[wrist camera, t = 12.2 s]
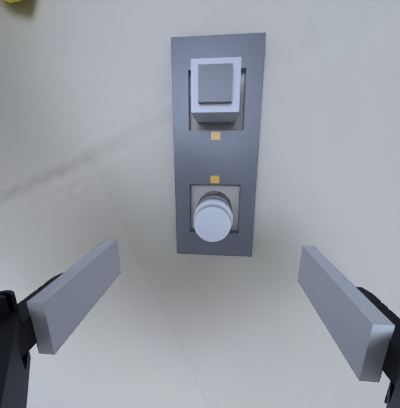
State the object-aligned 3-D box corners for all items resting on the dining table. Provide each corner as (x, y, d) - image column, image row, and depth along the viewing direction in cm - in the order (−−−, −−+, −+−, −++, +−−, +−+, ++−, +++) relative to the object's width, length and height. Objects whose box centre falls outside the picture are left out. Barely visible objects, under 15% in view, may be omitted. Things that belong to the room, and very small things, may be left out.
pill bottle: (222, 227, 31) (223, 253, 23) (193, 213, 31) (183, 235, 23) (236, 198, 30) (242, 215, 22) (206, 185, 30) (201, 196, 21)
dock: (178, 249, 32) (176, 254, 31) (173, 42, 26) (170, 36, 24) (250, 252, 31) (251, 257, 30) (263, 38, 25) (266, 31, 23)
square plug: (198, 122, 28) (189, 111, 20) (198, 83, 27) (189, 54, 19) (234, 122, 27) (239, 110, 20) (235, 81, 26) (242, 52, 19)
